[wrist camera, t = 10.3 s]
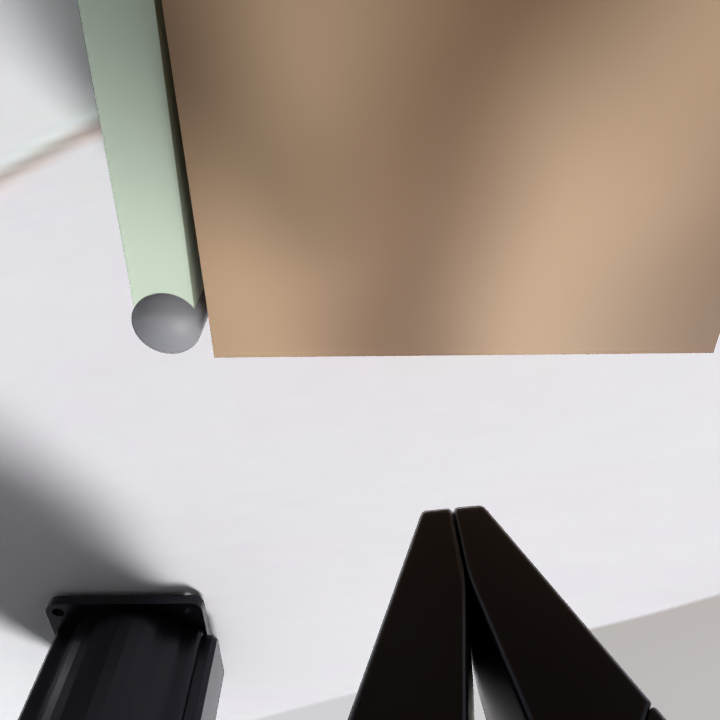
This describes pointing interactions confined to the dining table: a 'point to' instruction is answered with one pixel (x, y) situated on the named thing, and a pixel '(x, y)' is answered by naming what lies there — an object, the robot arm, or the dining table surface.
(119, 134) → the door
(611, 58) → the cabinet
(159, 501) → the dining table surface
